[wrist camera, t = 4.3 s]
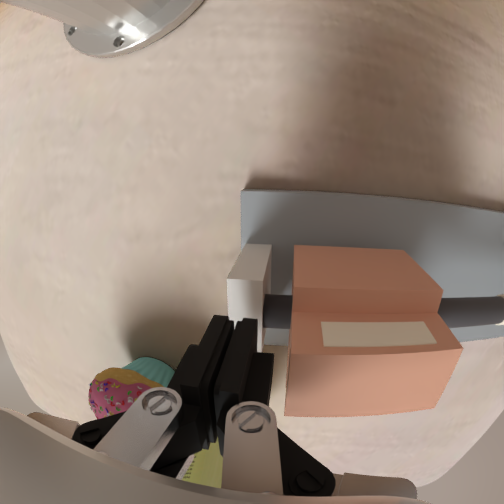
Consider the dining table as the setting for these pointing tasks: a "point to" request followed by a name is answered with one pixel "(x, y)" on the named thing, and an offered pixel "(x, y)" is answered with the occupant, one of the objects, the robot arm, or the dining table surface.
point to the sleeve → (365, 334)
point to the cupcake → (126, 385)
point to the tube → (206, 467)
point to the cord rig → (368, 236)
